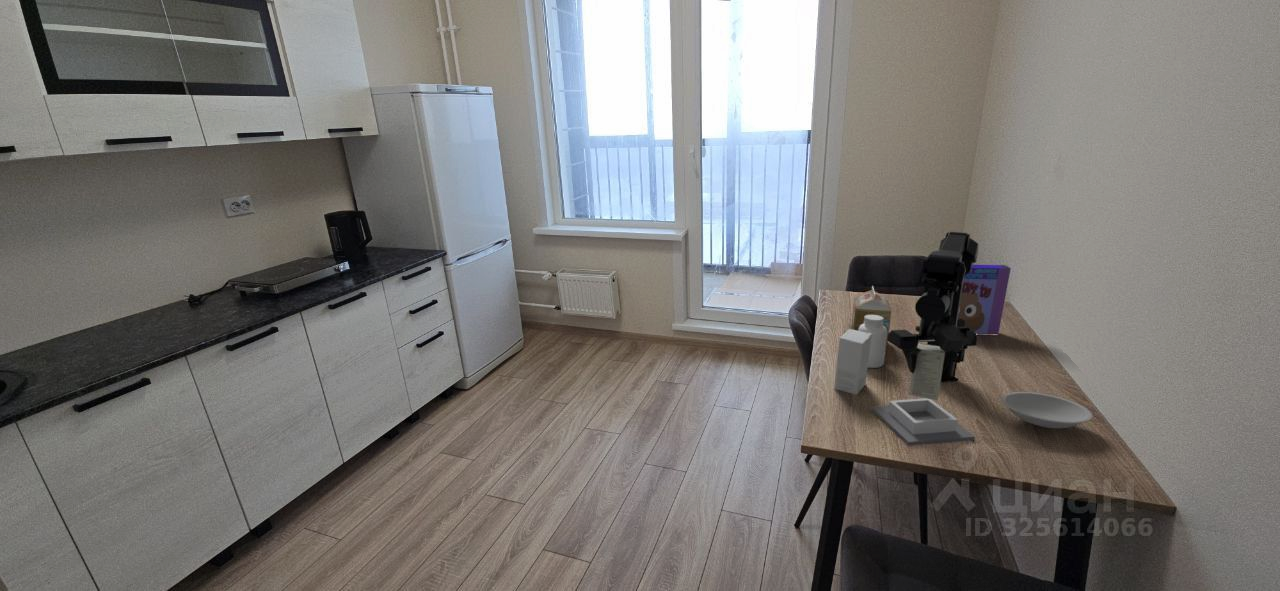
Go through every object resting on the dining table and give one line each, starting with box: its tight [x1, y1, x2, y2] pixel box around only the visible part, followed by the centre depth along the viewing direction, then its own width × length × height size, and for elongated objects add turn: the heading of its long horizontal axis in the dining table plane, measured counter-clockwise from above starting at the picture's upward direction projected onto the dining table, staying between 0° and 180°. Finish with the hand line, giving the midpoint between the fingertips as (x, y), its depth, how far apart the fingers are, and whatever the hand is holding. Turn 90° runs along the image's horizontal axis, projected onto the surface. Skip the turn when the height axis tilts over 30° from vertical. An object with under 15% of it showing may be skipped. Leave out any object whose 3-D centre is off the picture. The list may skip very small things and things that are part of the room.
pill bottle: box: [858, 315, 887, 369], centre depth 158 cm, size 8×8×15 cm
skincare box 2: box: [908, 342, 945, 401], centre depth 124 cm, size 6×4×12 cm
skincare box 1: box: [833, 328, 872, 396], centre depth 144 cm, size 8×7×16 cm
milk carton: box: [850, 285, 892, 353], centre depth 171 cm, size 11×11×19 cm
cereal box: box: [957, 264, 1011, 335], centre depth 179 cm, size 17×5×24 cm, turn 80°
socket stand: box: [871, 397, 976, 447], centre depth 126 cm, size 16×16×4 cm
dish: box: [1000, 391, 1094, 429], centre depth 124 cm, size 18×14×5 cm
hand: (927, 371), depth 124 cm, fingers closed on skincare box 2, 7 cm apart
